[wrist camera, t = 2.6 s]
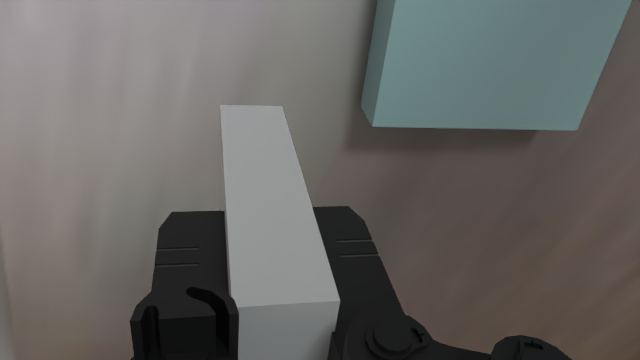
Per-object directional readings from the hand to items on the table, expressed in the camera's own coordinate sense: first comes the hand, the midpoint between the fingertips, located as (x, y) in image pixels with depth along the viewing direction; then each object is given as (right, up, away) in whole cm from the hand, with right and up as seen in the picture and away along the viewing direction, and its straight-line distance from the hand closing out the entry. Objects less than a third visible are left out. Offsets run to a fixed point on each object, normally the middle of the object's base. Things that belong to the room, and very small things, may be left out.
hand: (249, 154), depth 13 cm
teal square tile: (+10, +8, +14) cm, 19 cm away
